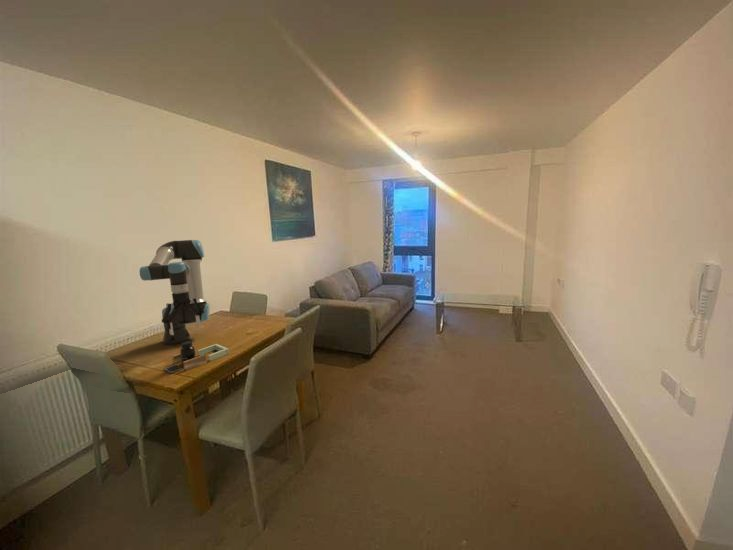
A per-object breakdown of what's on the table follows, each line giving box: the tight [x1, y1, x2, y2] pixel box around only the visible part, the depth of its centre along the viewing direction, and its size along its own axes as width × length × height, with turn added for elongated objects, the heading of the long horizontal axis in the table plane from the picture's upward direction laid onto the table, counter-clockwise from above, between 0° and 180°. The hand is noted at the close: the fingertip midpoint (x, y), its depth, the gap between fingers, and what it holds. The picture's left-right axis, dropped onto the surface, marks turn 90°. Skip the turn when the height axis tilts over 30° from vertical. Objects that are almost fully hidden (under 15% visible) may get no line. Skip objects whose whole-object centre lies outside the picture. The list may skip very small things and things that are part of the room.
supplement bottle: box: [179, 340, 197, 367], centre depth 165 cm, size 7×7×12 cm
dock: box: [197, 343, 230, 362], centre depth 176 cm, size 14×11×3 cm
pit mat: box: [163, 364, 184, 375], centre depth 160 cm, size 8×6×1 cm
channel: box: [172, 353, 208, 371], centre depth 166 cm, size 14×11×4 cm
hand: (185, 330), depth 163 cm, fingers open, 13 cm apart
